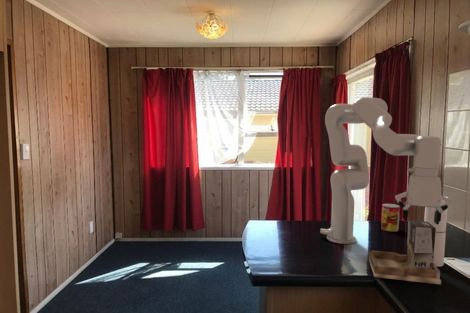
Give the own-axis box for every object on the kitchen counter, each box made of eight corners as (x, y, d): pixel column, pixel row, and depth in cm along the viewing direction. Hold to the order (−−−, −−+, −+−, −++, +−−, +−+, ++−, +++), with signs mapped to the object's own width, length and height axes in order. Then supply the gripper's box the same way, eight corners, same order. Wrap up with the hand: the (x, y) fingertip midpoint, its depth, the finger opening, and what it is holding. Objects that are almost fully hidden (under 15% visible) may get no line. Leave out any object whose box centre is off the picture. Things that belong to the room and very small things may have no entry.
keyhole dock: (374, 276, 118) (375, 266, 118) (368, 259, 134) (369, 250, 134) (440, 284, 114) (441, 273, 113) (427, 265, 129) (427, 255, 129)
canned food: (379, 226, 180) (380, 203, 179) (395, 227, 179) (396, 204, 178) (383, 231, 172) (384, 206, 171) (400, 231, 171) (402, 207, 170)
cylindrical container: (443, 268, 127) (448, 199, 125) (420, 263, 131) (425, 197, 129) (443, 261, 133) (448, 196, 131) (422, 257, 137) (426, 194, 135)
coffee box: (433, 275, 117) (436, 228, 116) (412, 273, 119) (415, 226, 117) (424, 265, 126) (427, 220, 125) (405, 263, 128) (408, 219, 126)
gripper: (399, 172, 118) (395, 222, 120) (457, 176, 114) (452, 227, 116) (395, 169, 125) (391, 216, 127) (449, 172, 121) (445, 221, 123)
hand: (420, 221), depth 121 cm, fingers open, 9 cm apart
